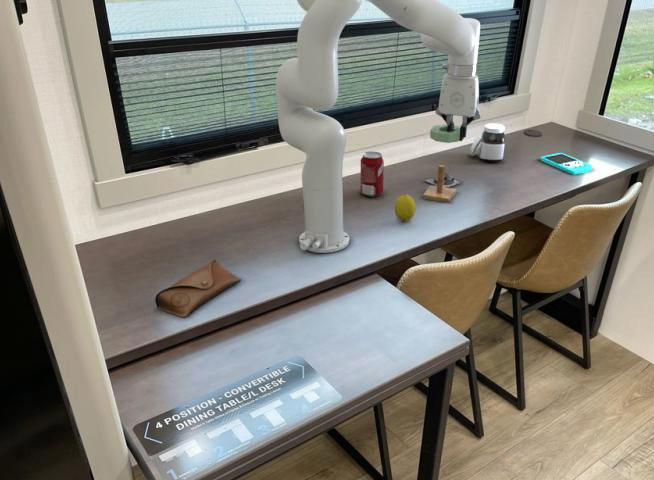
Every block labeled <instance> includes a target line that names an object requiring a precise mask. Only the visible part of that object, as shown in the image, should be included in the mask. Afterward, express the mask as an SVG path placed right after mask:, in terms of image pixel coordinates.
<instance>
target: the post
mask: <svg viewBox="0 0 654 480" xmlns="http://www.w3.org/2000/svg"><path fill="white" fill-rule="evenodd" d="M437 169H438V170H437V171H438V172H437V174H438V181H437V186H435V185H433V184H430V185H429V187H428V188H427V189H426V190H425V191H424V193H423V194H422V199H424V200H431V201H437V202H443V203H450V202H451V200H452V199H453V198H454V196H456V195H455V194H456V193H457V189H456V188H452V187H446V188H445V187H443V183H444V173H445V170H446V165H444V164H439V165H438V167H437Z"/></svg>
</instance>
